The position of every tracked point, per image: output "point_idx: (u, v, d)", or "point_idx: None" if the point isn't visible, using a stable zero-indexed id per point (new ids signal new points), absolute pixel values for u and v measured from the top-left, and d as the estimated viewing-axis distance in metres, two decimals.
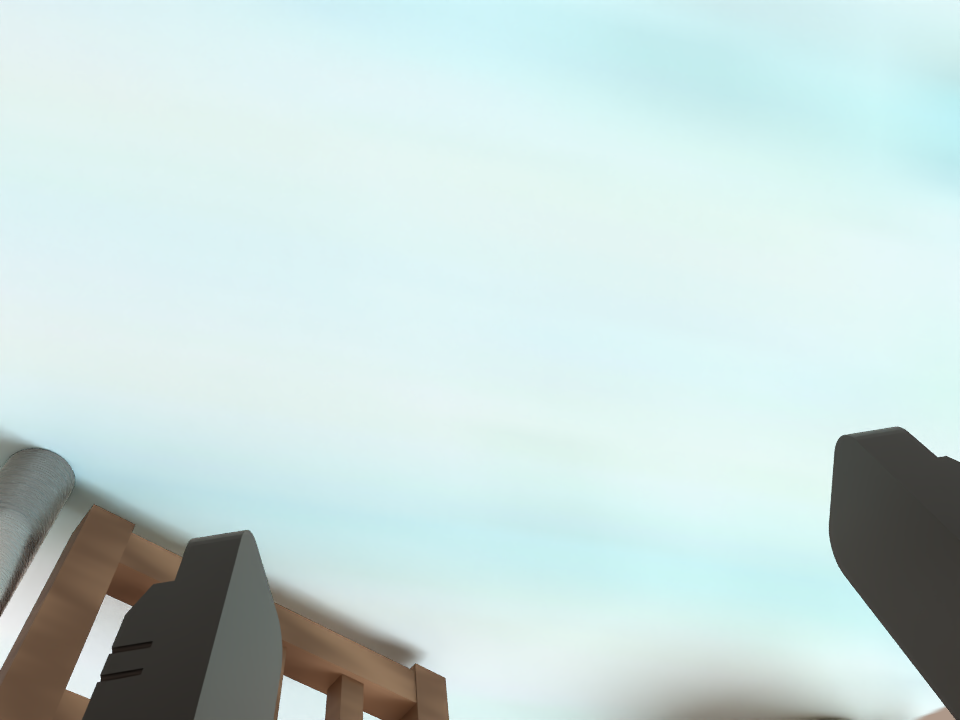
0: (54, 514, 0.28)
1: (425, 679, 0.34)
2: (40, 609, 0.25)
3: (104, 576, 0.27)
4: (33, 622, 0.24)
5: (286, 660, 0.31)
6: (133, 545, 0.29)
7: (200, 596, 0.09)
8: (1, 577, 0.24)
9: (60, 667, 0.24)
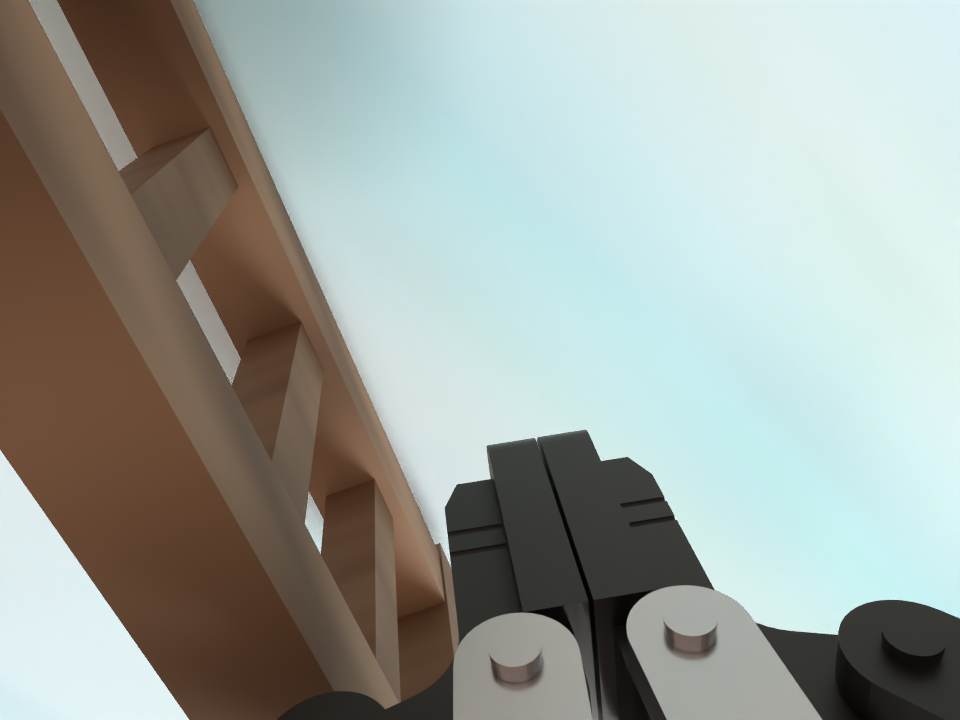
0: None
1: (449, 576, 0.19)
2: None
3: None
4: None
5: None
6: None
7: (526, 486, 0.10)
8: None
9: None
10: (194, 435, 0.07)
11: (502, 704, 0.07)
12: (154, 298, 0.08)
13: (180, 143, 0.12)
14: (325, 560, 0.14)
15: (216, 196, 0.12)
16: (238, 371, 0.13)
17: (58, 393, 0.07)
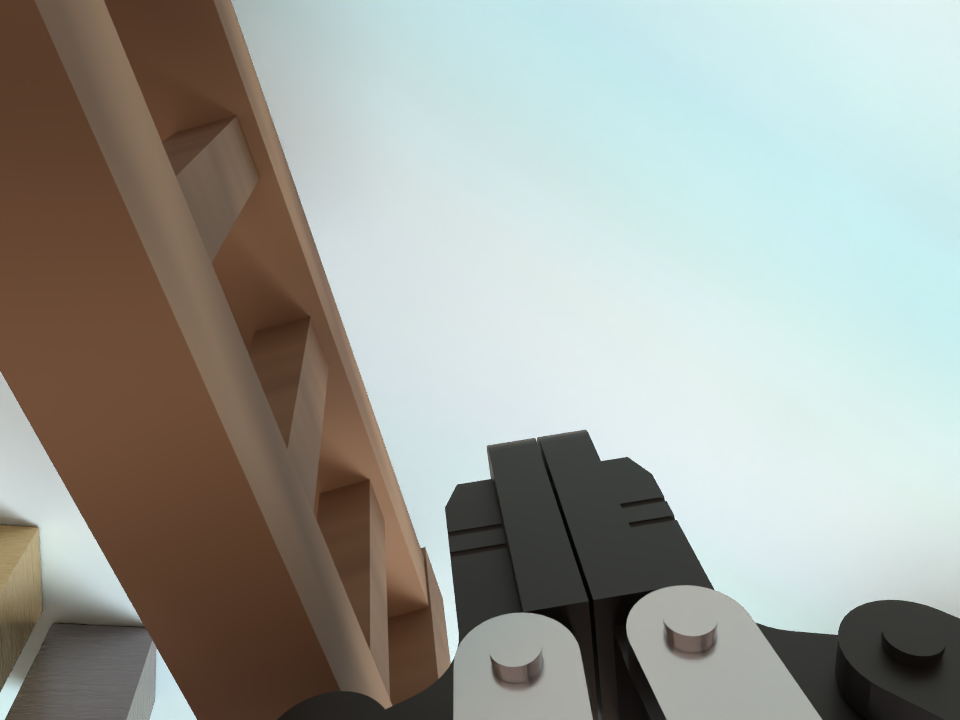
0: None
1: (432, 581, 0.19)
2: None
3: None
4: None
5: None
6: None
7: (526, 486, 0.10)
8: None
9: None
10: (230, 427, 0.07)
11: (502, 704, 0.07)
12: (196, 286, 0.07)
13: (208, 130, 0.12)
14: None
15: (241, 186, 0.12)
16: None
17: (99, 375, 0.07)
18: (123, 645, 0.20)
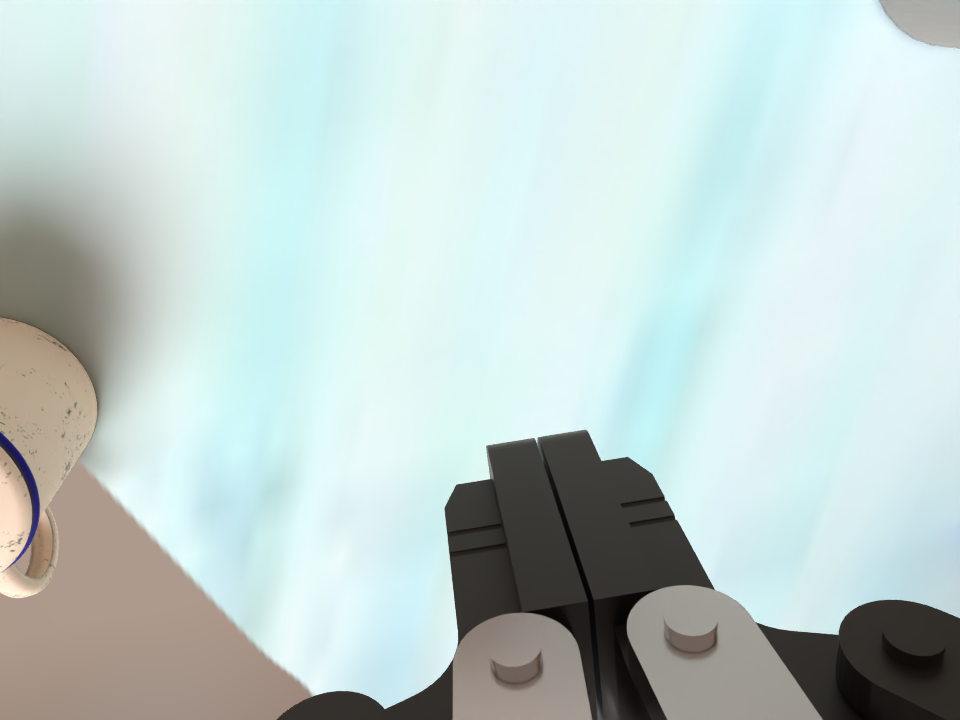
0: None
1: None
2: None
3: None
4: None
5: None
6: None
7: (525, 486, 0.10)
8: None
9: None
10: None
11: (501, 704, 0.07)
12: None
13: None
14: None
15: None
16: None
17: None
18: None
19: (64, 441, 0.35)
